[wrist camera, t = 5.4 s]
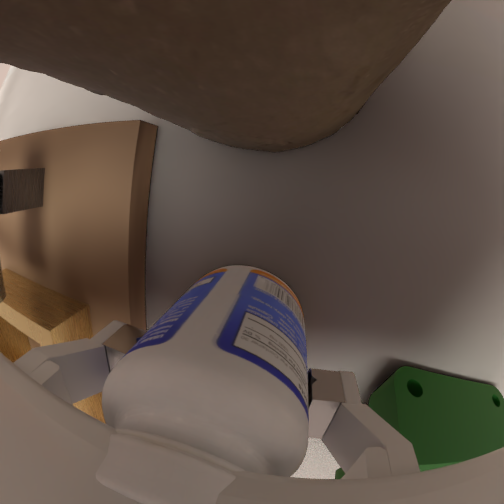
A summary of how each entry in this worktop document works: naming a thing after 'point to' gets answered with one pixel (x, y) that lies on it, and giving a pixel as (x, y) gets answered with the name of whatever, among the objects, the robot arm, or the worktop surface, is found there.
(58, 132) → the shaft stand
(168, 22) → the pillar candle
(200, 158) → the worktop surface
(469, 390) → the clamp
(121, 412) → the pill bottle
